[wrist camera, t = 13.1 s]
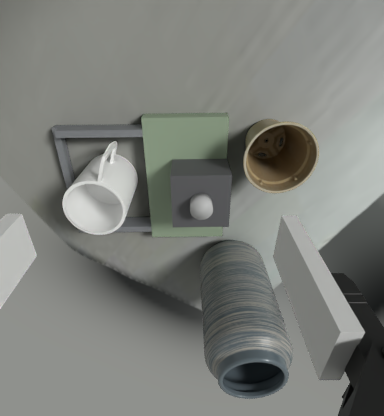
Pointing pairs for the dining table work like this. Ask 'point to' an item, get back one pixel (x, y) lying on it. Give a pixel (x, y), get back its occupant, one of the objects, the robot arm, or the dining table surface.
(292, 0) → the dining table surface
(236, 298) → the vase
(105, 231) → the cup
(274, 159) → the flower pot
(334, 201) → the dining table surface
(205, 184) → the square frame with panel
